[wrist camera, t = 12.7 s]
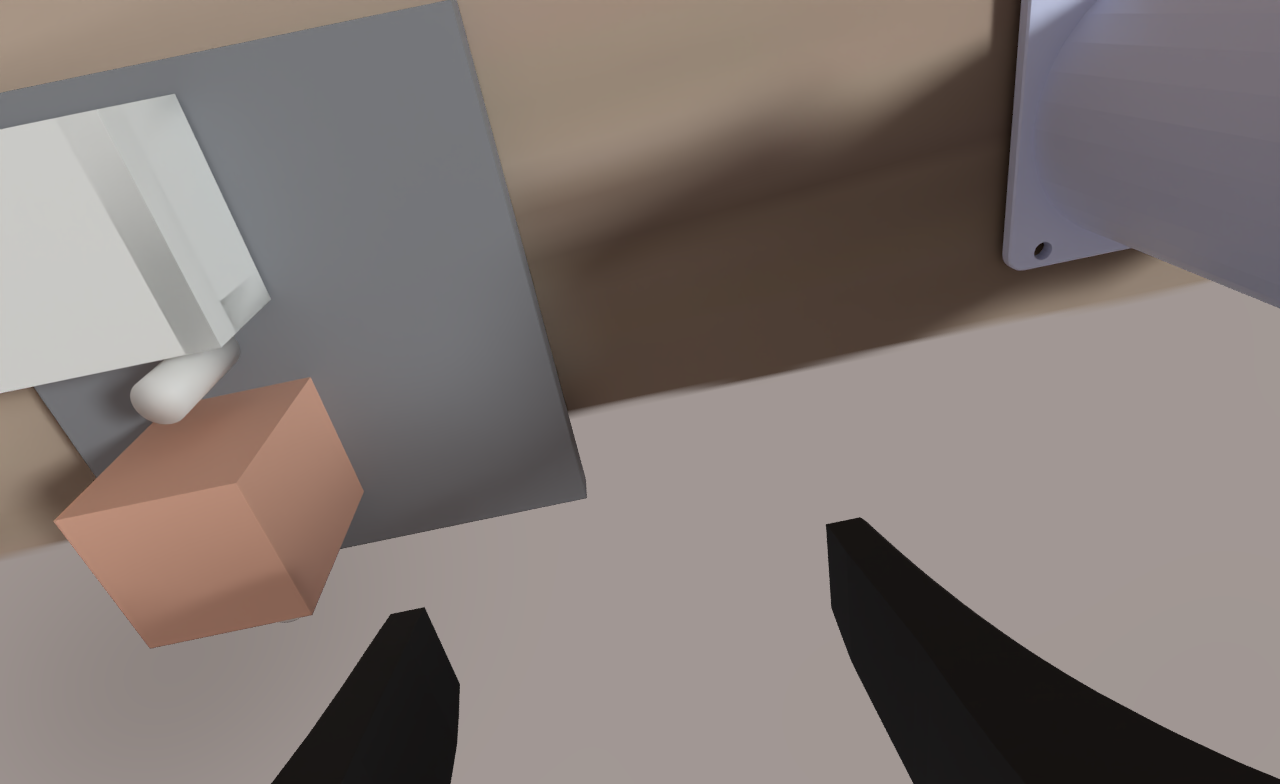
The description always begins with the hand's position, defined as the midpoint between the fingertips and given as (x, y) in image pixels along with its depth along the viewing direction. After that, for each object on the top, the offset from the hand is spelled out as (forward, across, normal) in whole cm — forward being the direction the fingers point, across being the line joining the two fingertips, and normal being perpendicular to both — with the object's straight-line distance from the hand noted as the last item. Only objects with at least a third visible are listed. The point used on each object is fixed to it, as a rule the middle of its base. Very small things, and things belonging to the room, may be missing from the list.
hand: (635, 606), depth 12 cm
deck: (+10, +8, -3) cm, 13 cm away
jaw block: (+9, +10, 0) cm, 13 cm away
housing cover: (+9, +11, -7) cm, 16 cm away
